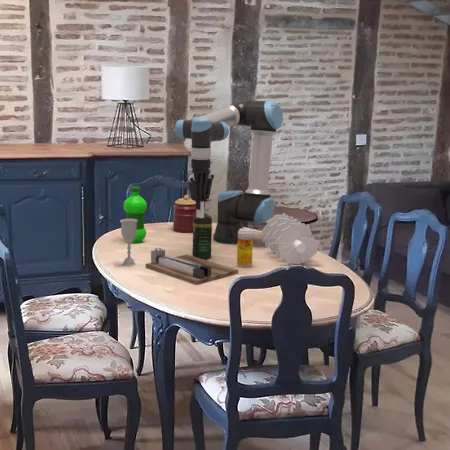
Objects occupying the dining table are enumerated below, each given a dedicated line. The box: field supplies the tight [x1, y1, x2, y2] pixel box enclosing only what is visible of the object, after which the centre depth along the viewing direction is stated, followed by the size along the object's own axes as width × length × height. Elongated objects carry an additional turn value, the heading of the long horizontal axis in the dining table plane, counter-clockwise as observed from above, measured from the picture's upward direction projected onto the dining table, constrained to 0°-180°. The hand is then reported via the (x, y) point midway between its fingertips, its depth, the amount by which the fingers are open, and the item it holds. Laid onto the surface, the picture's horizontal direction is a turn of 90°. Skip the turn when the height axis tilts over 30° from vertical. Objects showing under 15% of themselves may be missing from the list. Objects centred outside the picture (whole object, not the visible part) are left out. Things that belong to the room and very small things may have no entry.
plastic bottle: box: [122, 186, 148, 244], centre depth 312 cm, size 10×10×25 cm
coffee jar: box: [191, 212, 213, 260], centre depth 290 cm, size 10×8×19 cm
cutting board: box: [145, 254, 239, 285], centre depth 272 cm, size 22×30×2 cm
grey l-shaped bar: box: [150, 247, 204, 279], centre depth 267 cm, size 28×5×6 cm, turn 45°
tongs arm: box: [164, 254, 211, 276], centre depth 267 cm, size 24×2×3 cm, turn 48°
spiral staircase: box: [261, 212, 321, 266], centre depth 290 cm, size 18×18×25 cm
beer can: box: [236, 227, 254, 268], centre depth 278 cm, size 6×6×15 cm
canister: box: [172, 194, 197, 234], centre depth 337 cm, size 13×13×18 cm
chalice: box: [119, 218, 138, 267], centre depth 276 cm, size 7×7×18 cm
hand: (200, 217), depth 274 cm, fingers closed
